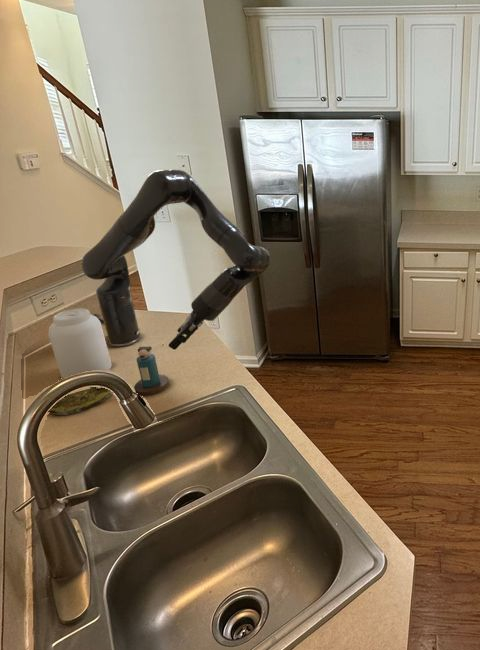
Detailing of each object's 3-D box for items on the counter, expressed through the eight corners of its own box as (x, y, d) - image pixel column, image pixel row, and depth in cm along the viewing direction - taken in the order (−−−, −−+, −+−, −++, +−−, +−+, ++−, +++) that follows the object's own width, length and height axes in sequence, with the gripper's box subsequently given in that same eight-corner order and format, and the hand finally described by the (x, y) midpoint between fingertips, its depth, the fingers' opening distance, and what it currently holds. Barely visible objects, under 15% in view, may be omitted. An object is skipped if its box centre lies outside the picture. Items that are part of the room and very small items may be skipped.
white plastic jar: (106, 357, 139) (91, 300, 132) (117, 372, 131) (101, 313, 124) (59, 371, 131) (40, 312, 124) (66, 389, 123) (46, 327, 116)
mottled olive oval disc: (49, 425, 110) (117, 401, 119) (44, 412, 108) (113, 388, 117) (45, 405, 116) (110, 383, 125) (40, 391, 114) (106, 371, 123)
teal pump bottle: (146, 378, 126) (138, 345, 122) (162, 378, 126) (155, 344, 122) (139, 387, 122) (131, 353, 118) (156, 387, 122) (148, 352, 118)
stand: (131, 387, 124) (130, 382, 124) (162, 375, 130) (162, 371, 130) (141, 400, 119) (140, 395, 118) (173, 387, 125) (172, 383, 124)
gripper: (207, 282, 124) (171, 320, 126) (195, 302, 111) (155, 344, 113) (229, 298, 127) (193, 335, 129) (220, 319, 114) (180, 360, 116)
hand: (176, 339), depth 121 cm, fingers open, 8 cm apart
